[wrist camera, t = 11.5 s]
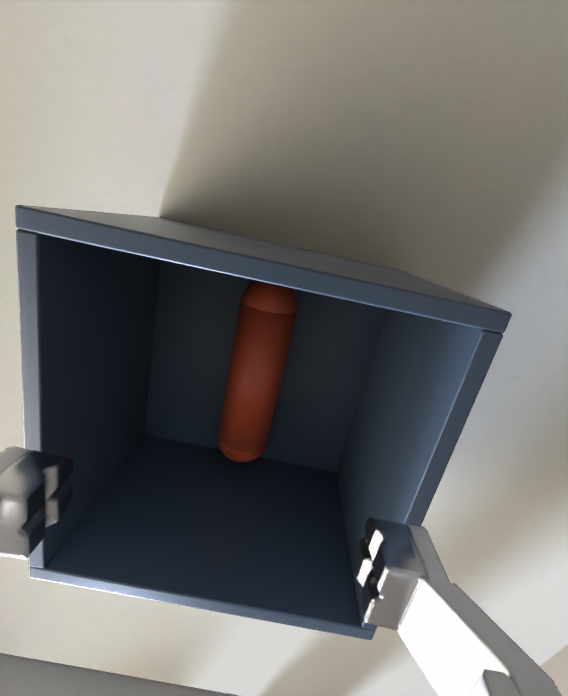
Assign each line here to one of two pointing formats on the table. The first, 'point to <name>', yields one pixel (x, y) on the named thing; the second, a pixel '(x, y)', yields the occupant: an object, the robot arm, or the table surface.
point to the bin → (206, 407)
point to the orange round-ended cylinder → (256, 369)
